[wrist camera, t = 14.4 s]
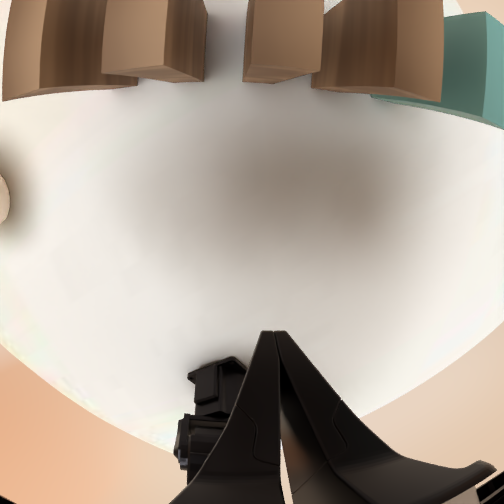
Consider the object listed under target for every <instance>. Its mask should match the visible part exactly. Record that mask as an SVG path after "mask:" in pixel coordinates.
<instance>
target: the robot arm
mask: <svg viewBox="0 0 504 504" xmlns="http://www.w3.org/2000/svg"><path fill="white" fill-rule="evenodd" d="M187 378H188V380H190V381H191V382H192V383H194V384H195V396H194V403H195V404H196V406H195V415H190V414H186V413H185V414H184V418H183V419H181V420H179V422H178V432H177V437H176V442H175V446H174V455H175V457H176V458H177V459H178V461H179V463H180V469H181V470H187V486H186V487H185V488H184V489H183V491H181V492H180V493H179V495H177V496H176V497H175V498H174V499H173V500H172V501H171V502H170V503H169V504H285V501H284V496H283V491H282V486H281V477H280V447H281V441H282V446H283V452H284V457H285V462H286V467H287V473H288V478H289V483H290V488H291V494H293V495H292V499H293V504H504V471H503V472H501V473H500V474H498V475H497V476H495V477H494V478H492V479H491V480H489V481H488V482H486V483H485V484H483V485H481V486H480V487H478V488H477V489H476V488H475V485H476V484H478V483H479V482H481V481H483V480H484V479H486V478H487V477H488V476H490V475H491V474H493V473H494V472H496V471H497V469H496V468H494V466H493V465H491V464H489V463H487V462H484V461H481V460H479V461H476V462H475V463H473V464H471V465H469V466H467V467H465V468H458V469H454V468H447V467H443V466H438V465H434V464H429V463H426V462H421V461H418V460H414V459H410V458H407V457H404V456H402V455H400V454H398V453H397V452H395V451H394V450H392V449H391V448H390V447H389V446H388V445H387V444H386V443H384V442H383V441H382V440H381V439H380V438H379V437H378V436H377V435H376V434H375V433H373V432H372V431H371V430H370V429H369V428H368V427H367V426H366V425H365V424H364V423H363V422H362V421H361V420H360V419H359V418H358V417H357V416H356V415H355V414H354V413H353V412H352V411H351V409H350V408H349V407H348V406H347V405H346V404H345V402H344V401H343V400H341V398H340V397H339V395H338V394H337V393H336V392H335V391H334V389H333V388H332V387H331V386H330V384H329V383H328V382H327V381H326V380H325V378H324V377H323V376H322V375H321V374H320V372H319V371H318V370H317V369H316V367H315V366H314V365H313V364H312V363H311V361H310V360H309V359H308V358H307V356H306V355H305V354H304V353H303V351H302V350H301V349H300V348H299V346H298V345H297V344H296V343H295V342H294V340H293V339H292V338H291V337H290V335H289V334H288V333H287V332H286V331H274V332H273V331H264V330H263V331H261V333H260V336H259V339H258V342H257V345H256V347H255V350H254V353H253V356H252V359H251V361H250V364H249V367H248V369H247V368H246V367H245V366H244V365H243V364H241V363H240V362H239V361H238V360H237V359H236V358H233V357H231V358H228V359H225V360H223V361H220V362H218V363H215V364H213V365H210V366H208V367H205V368H202V369H200V370H197V371H195V372H192V373H189V374H188V377H187ZM0 504H16V503H14V502H12V501H10V500H9V499H7V498H5V497H3V496H1V495H0Z"/></svg>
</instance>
